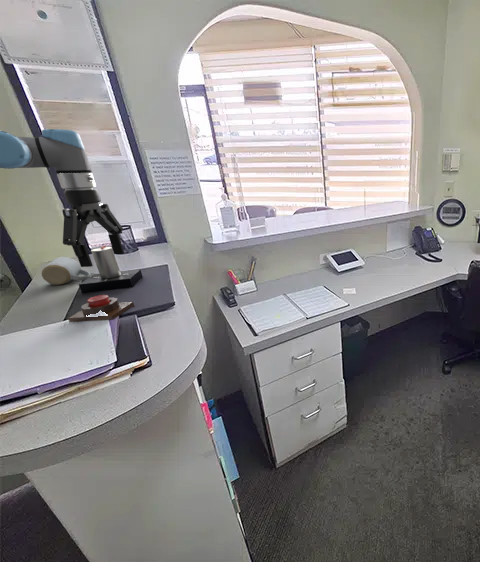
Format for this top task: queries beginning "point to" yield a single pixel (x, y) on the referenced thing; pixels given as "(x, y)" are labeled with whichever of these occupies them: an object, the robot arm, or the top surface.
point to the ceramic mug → (63, 271)
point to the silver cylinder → (106, 262)
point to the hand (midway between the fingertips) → (104, 259)
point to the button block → (111, 309)
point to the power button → (98, 300)
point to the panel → (111, 281)
